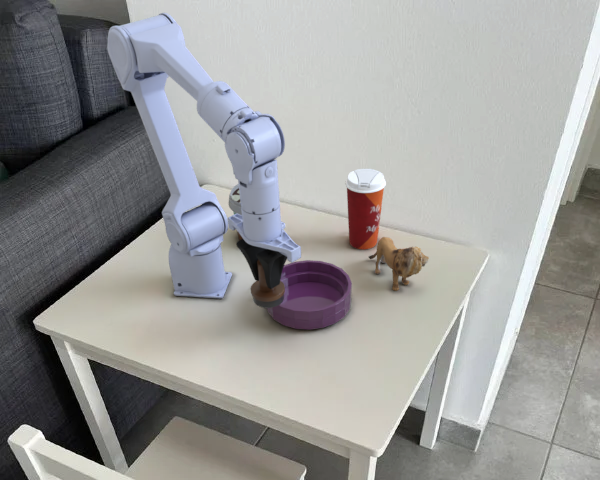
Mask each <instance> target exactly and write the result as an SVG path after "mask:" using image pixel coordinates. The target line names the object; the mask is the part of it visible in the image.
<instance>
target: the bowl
mask: <svg viewBox="0 0 600 480" xmlns="http://www.w3.org/2000/svg"><path fill="white" fill-rule="evenodd" d="M280 281H282V282H283V284H284V286H285V293H284V300H283V302H282V303H281V304H280V305H278V306H275V307H272V308H266V311H267V313H268V314H269V315H270V317H271V318H272V319H273V320H274V321H276V322H277V323H279V324H280V325H282V326H285V327H289V328H291V329H295V330H308V331H310V330H317V329H323V328H326V327H329V326H331V325H334V324H337V323H338V322H339V321H341V320H342V319H344V318H345V317H346V315H347V314H348V313H349V311H350V310H351V305H352V296H353V295H352V291H353V289H352V288H353V283H352V280H351V276H350V275H349V274H348V273H347V272H346V271H345V270H344V269H343V268H342V267H340V266H337V265H336V264H333V263H330V262H327V261H323V260H311V259H306V260H298V261H297V260H296V261H294V262H292V263H291V262H290V263H287V264H286V263H285V264H284V267H283V270H282V274H281V279H280Z"/></svg>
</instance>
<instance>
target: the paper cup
mask: <svg viewBox="0 0 600 480" xmlns="http://www.w3.org/2000/svg"><path fill="white" fill-rule="evenodd" d="M344 185H345V187H346V196H347V198H346V199H347V221H348V223H347V225H348V239H349V240H348V241H349V244H350V246H351V247H353V248H355V249H357V250H370V249H372V248H374V247H375V246H377V245H378V237H379V231H380V223H381V214H382V208H383V207H382V206H383V200H384V199H383V198H384V192H385V191H384V190H385V187H386V186H387V182H386V179H385V175H384V173H382V172H381V171H379V170H377V169H373V168H358V169H355V170H352V171H350V172H349V173H348V174H347V178H346V180H345V182H344Z"/></svg>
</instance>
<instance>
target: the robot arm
mask: <svg viewBox="0 0 600 480" xmlns="http://www.w3.org/2000/svg"><path fill="white" fill-rule="evenodd" d="M107 33H108V34H107V45H106V46H107V47H106V50H107V53H108V57H109V59H110V61H111V64H112V67H113V69H114V72H115V74H116V77H117V79H118V81H119V83H120V86H121V89H122V90H124V91H127V92H130V93H131V96H132V98H133V101H134V103H135V107H136V108H137V111H138V113H139V116H140V118H141V121H142V124H143V127H144V129H145V132H146V134H147V137H148V139H149V142H150V145H151V147H152V150H153V152H154V155H155V158H156V161H157V162H158V165H159V168H160V170H161V173H162V176H163V178H164V180H165V183H166V186H167V189H168V192H169V194H170V196H169V198H168V200H167V202H166V203H165V206H164V207H163V209H162V211H161V215H162V219H163V222H164V227H165V233H166V237H167V239H168V241H169V243H170V246H169V249H168V267H169V271H170V275H171V280H172V285H173V290H174V291H173V295H174V296H175V297H177V296H178V297H191V298H192V297H193V298H205V299H223V298H224V296H225V295H226V291H227V289H228V287H229V284H230V281H231V279H232V276H233V273H232V271H225V263H224V258H223V257H224V256H223V251H222V250H223V249H222V245H221V243H222V242H224V235H225V234H227V232H228V230H231V231H235V230H236V231H238V232H239V234H240V235H241V236H242V239H241V240H239V239H238V240H237V242H236V247H237V249H238V250H239V251H240V252H241V254H242V255H243V257H244V259H245V260H246V263H247V264H248V267H249V269H250V272H251V274H252V277H253V279H254V280H255V282H256V281H259V276H258V266H257V261H258V260H259V261H260V262H261V264H262V267H263V270H264V274H265V280H266V284H267V287H268V288H270V289H272V288H274V287H275V286H277V285H279V284H280V279H281V274H282V270H283V267H284V265H286V262H287V261H288V262H290V263H293V262H297V260H298V261H299V259H301V258H302V247H301V245H299V244H297V243H296V242H295V241H294V240H293V239H292V238H291V237H290V235H289V234H288V233H287V232H286V230H285V229H286V223H285V222H284V221H282V216H281V201H280V186H279V170H278V160H277V159H278V158H279V157H280V156H282V155H283V154H284V151H285V147H286V140H285V135H284V132H283V129H282V127H281V125H280V123H279V122H278V121H277V120H276V118H275V117H274V116H273V115H272V114H269V113H262V112H261V111H259V110H256V111H255V110H253V109H252V107H250V106H249V105H248V104H247V103H246V102H245V101H244V99H243V98H241V97H240V95H239V94H238V93H237V92H236V91H235V90H234V89H233V88H232V87H231V86H230V85H229V84H228V83H227V82H226V81H223V80H216V81H214V80H213V78H212V77H211V76H210V74H209V73H208V72H207V71H206V70H205V69H204V67H203V66H202V65H201V64H200V62H199V61H198V60H197V59H196V58H195V56H194V55H193V54H192V52H191V51H190V50H189V48H187V45H186V39H185V35H184V32H183V29H182V26H181V25H180V24H178V22H177V21H176V20H175V19H174V17H173V16H172V15H171V14H170V13H168V12H161V13H159V14H157V15H154V16H151V17H147V18H143V19H140V20H139V19H138V20H136V21H132V22H128V23H125V24H121V25H112V26H111V27H110V28H109V30H108V32H107ZM168 78H170V79H172V81H174V82H175V83H176V84H177V85H178V86H179V87H180V88H182V89H183V90H184V91H185V92H186V93H187V94H189V95H190V96H191V97H192V98H193V99H194V100H195V101H196V112H197V114H198V116H199V117H200V118H201V119H202V120H203V121H204V122H205V123H206V124H207V125H208V126H209V127H210V129H212V130H213V132H214V133H215V134H216V135H217V136H218V137H219V138H220V139H221V140H222V141H223V142H224V149H225V152H226V155H227V159H229V162H230V165H231V166H232V173H233V175H234V179H235V180H237V182H238V183H237V184H239V193H240V201H241V210H242V215H240V214H238V213H236V214H234V213H233V214H232V215H230V216H229V217H228V216H227V213H226V212H225V209H223V207H222V205H221V203H220V202H219V199H218V198H217V195H216V193H215V192H213V191H211V190H208V189H206V188H203V187H202V186H200V184H199V181H198V179H197V175H196V173H195V170H194V167H193V165H192V162H191V159H190V156H189V154H188V150H187V148H186V145H185V143H184V140H183V137H182V134H181V132H180V130H179V126H178V123H177V121H176V118H175V115H174V113H173V110H172V107H171V103H170V101H169V99H168V96H167V93H166V91H165V87H166V83H167V79H168ZM238 232H237V233H238Z"/></svg>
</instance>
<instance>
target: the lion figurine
mask: <svg viewBox="0 0 600 480" xmlns="http://www.w3.org/2000/svg"><path fill="white" fill-rule="evenodd" d="M375 258H376V261H375V269H374V274H375V275H380V274H381V273H382V270H381V267H380V266H381V263H382V264H386V266H388V268H390V269H391V272H392V288H391V289H392V290H393V291H394V292H397V291H399V290H400V287H399V277H401V280H400V281H401V284H402V285H404V286H408V285H410V281H409V280H407V278H408V279H409V278H410V277H412V276H414V275H417V274H419V273H420V272H421V271H422V269H423V268H425V266H426V265H427V264H428V262H429V259H430V257H429V256H427V255H425V254H424V253H423V252H422V249H421V247H419V246H409V247H406V248H397V247H396V246H395V243H394V240H393V239H392V238H390V237H387V236H383V237H381V238H380V239H379V240H378V241H377V244H376V251H375V252H374V254H372V255H371V254H370V255H369V256H368V259H369V260H373V259H375Z"/></svg>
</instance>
